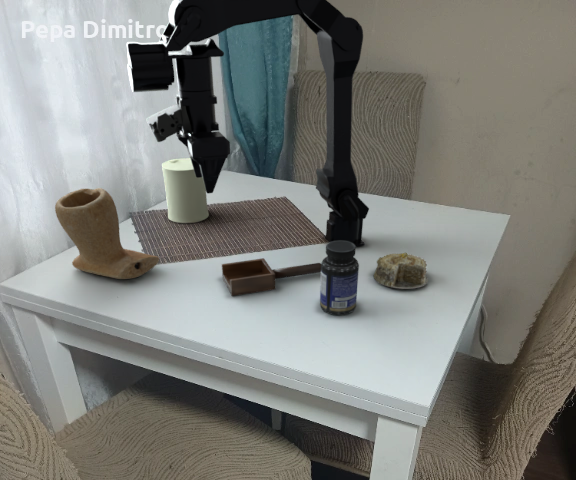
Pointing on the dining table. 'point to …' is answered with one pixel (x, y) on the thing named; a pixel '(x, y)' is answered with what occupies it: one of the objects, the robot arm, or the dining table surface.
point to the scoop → (259, 275)
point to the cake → (401, 271)
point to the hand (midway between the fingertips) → (204, 184)
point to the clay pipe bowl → (99, 235)
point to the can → (184, 192)
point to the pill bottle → (339, 278)
